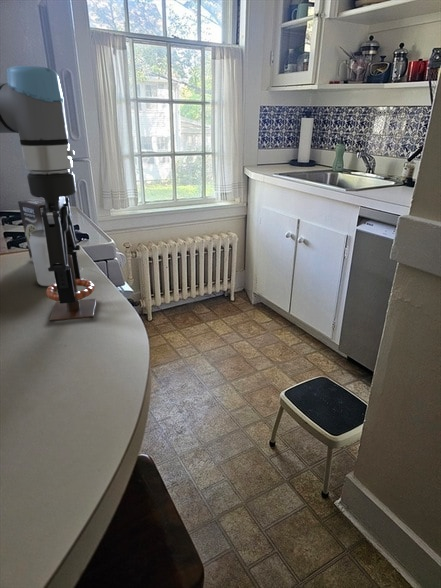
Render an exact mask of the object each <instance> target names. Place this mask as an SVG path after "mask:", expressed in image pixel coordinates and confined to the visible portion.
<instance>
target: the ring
mask: <svg viewBox="0 0 441 588" xmlns="http://www.w3.org/2000/svg"><path fill="white" fill-rule="evenodd" d="M76 285H77V287H78V286H79V287H85V288H84V289H82V290H80V291H78V292H76V293H75V298H76V300H83V299H84V298H86V297H89V296H90V295H92V293H94V291H95V287H96V286H95V284H94V283H93V282H92V281H91V280H88V279H84V278H81V279H76ZM45 295H46V296H47V298H48V299H49V300H52V301H54V302H60V301H59V296H58V291H57V285H56V283H54V284H52V285H51V286H47V287H46V291H45Z"/></svg>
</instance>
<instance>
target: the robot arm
mask: <svg viewBox="0 0 441 588" xmlns="http://www.w3.org/2000/svg"><path fill="white" fill-rule="evenodd" d="M6 76H7V77H6V79H7V80H6V83H5V82H4V83H1V82H0V134H18V136H19V143H20V148H21V153H22V159H23V164H24V169H25V170H26V171H28V172H29V173H28V174H27V175H26V179H27V183H28V189H29V193H30V195H31V196H32V197H35V198H42V199H45V207H43V212H42V218H43V223H44V227H45V234H46V241H47V248H48V255H49V263H50V268H48V270H49V272H50V271H54V275H55V280H56V285H57V291H56V292H57V294H58V296H59V301H58V302H60V304H62V303H74V302H76V298H75V292H74V286H73V280H72V274H71V268H69V265H68V254H70V255H72V261H73V267H74V273H75V279H82V278H81V277H82V276H81V271H80V265H79V258H78V251H80V250H81V246H80V244H77V243H78V240H77V236H76V233H75V227H74V222H73V217H72V211H71V205H70V199H69V197H70V196H72V195H74V194H76V193H77V185H76V184H77V183H76V177H75V173H74V172H73V171H72V170H70V169H73V167H74V166H73V160H72V159H73V158H72V157H74V156H75V155H76V154H75V153H76V152H75V151H74V150H73V149H70V139H69V132H68V126H67V118H66V110H65V97H64V96H63V91H62V86H61V83H60V77H59V74H58V73H57V71H56V70H54V69H53V68H50V67H45V66H36V65H34V66H33V65H14V66H10V67H8V68H7V70H6ZM57 263H61V264H57Z"/></svg>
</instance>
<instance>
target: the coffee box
mask: <svg viewBox="0 0 441 588" xmlns="http://www.w3.org/2000/svg"><path fill="white" fill-rule="evenodd" d="M17 204H18V208H19V213H20V217H21V223H22V226H23V231H24V237H25V241H26V246H27V251H28V255H29V259H30V262H32V263H33V259H32V254H31V249H30V244H29V239H30V233H31V232H33V231H36V230H41V229H45V227H44V223H43V218H42V212H43V207H45V199H44V198H42V197H36V198H29V199H24V200H19V201H17Z"/></svg>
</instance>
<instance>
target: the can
mask: <svg viewBox="0 0 441 588" xmlns="http://www.w3.org/2000/svg"><path fill="white" fill-rule="evenodd" d="M29 244H30V249H31V254H32V259H33V262H32V263H33V267H34V274H35V277H36V282H37V284H38V285H40V286H41V287H49V286H51V285H52V284H54V283H56V280H55V275H54V271H50V272H49V270H48V268H50V263H49V255H48V248H47V241H46V234H45V229H41V230H36V231H33V232H31V233H30V239H29ZM57 264H59V263H57Z"/></svg>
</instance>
